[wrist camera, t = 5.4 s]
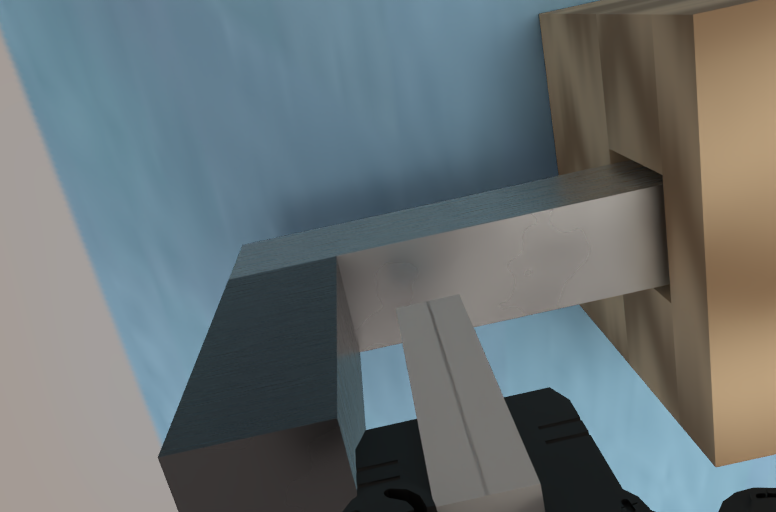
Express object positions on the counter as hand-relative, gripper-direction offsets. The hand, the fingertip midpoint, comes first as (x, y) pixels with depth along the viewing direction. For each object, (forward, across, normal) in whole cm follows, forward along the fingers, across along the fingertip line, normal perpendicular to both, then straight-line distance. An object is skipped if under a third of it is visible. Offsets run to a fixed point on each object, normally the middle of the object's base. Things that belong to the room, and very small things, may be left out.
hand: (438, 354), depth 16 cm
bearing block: (+14, +11, 0) cm, 17 cm away
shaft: (+7, +7, 0) cm, 10 cm away
